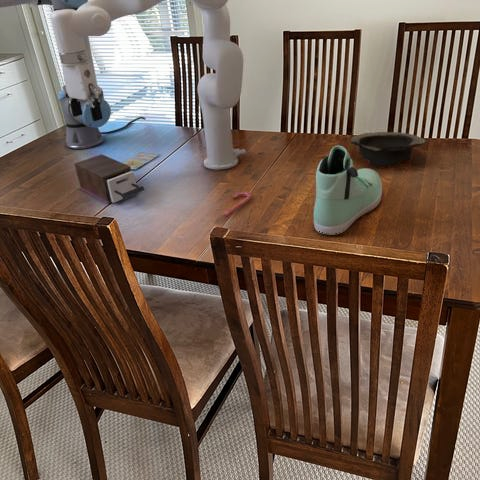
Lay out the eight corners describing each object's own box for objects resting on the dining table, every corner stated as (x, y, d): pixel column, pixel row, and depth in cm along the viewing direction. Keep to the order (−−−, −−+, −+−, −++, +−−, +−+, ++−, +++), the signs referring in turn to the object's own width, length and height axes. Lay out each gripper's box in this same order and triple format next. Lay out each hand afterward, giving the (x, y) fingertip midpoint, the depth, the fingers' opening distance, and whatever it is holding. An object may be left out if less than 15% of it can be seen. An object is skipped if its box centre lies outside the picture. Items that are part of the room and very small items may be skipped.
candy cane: (211, 213, 142) (210, 209, 141) (240, 193, 152) (239, 189, 151) (227, 218, 139) (226, 213, 138) (255, 197, 149) (255, 193, 148)
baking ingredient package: (116, 165, 178) (140, 152, 189) (116, 167, 178) (140, 153, 189) (135, 168, 174) (158, 154, 186) (135, 169, 174) (158, 155, 186)
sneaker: (389, 187, 148) (396, 123, 138) (356, 242, 123) (361, 168, 112) (346, 181, 154) (350, 119, 144) (306, 232, 129) (307, 161, 118)
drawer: (148, 197, 152) (144, 176, 148) (124, 208, 147) (119, 186, 143) (110, 179, 167) (106, 159, 163) (87, 188, 162) (81, 168, 158)
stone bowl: (383, 178, 153) (383, 150, 149) (335, 160, 174) (334, 135, 169) (439, 159, 162) (442, 132, 158) (387, 144, 182) (388, 120, 178)
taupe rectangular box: (135, 192, 158) (130, 166, 154) (108, 204, 153) (102, 177, 148) (107, 179, 170) (101, 154, 165) (80, 189, 164) (74, 163, 159)
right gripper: (104, 57, 133) (116, 118, 142) (67, 53, 142) (80, 110, 151) (81, 62, 128) (95, 125, 137) (45, 58, 138) (60, 117, 146)
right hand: (87, 117), depth 144 cm, fingers open, 9 cm apart
